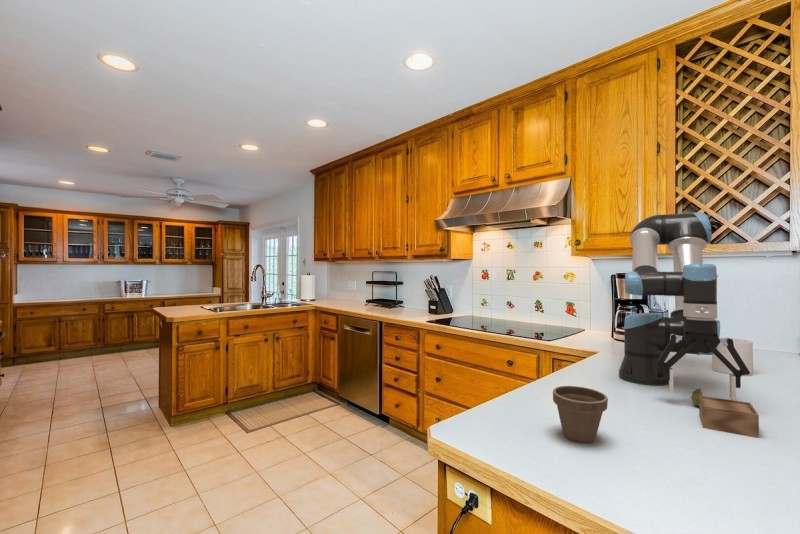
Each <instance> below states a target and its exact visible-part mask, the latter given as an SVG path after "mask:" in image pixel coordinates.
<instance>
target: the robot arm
mask: <svg viewBox="0 0 800 534" xmlns="http://www.w3.org/2000/svg"><path fill="white" fill-rule="evenodd" d="M712 235H713V234H712V226H711V222H710V219H709V216H708V215H707V214H706V213H704V212H693V211H692V212H691V211H690V212H685V213H669V214H654V215H651V216H648V217H646V218H644V219H642V220H641V221H640V222H637V224H636V225H635V226H634V227H633V229H632V230H631V232H630V235H629V242H630V245H631V246H632V261H631V262H632V265H631V267H632V268H631V269H632V271H627V272H625V274H624V288H625V293H626V294H627V295H633V296H634V295H635V296H636V295H637V296H664V297H665V296H666V297H674V305H675V307H674V308H675V309H673V310H672V311H671V312H670V313H669V316H670V317H667V316H666V317H665V315H664V313H663V312H639V313H631V314H628V315H626V316H625V318H624V326H623V330H624V332H623V333H624V334H623V335H624V341H623V342H624V347H623V349H624V355H623V358H622V361H621V364H620V365H619V366H620V367H619V369H618V377H619V378H620V379H622V380H624V381H627V382H630V383H633V384H639V385H640V384H641V385H646V386H648V385H649V386H666V385H668V391H669V393H670V394H674V369H673V366H674V365H675V364H676V363H678V362H679V360H681V359H682V358H684V356H685V355H686V354H688V355H689V354H690V355H696V356H699V355H701V356H702V355H703V356H712V355H713V354H715V355H716V356H717V357H718V358H719V359H720V360H721V361H722V362H723V363H724V364H725V366H726V367H727V368H728V369H729V370H730V371H731V372H732V373H733V374H728V377H729V378H728V379H729V380H728V381H729V384H728V385H729V386H728V387H729V400H735V401H737V389H741V384H742V381H741V378H742V377H743V376H742V375H749V374H750V372H749V370H748V368H747V367H746V365H745V364H744V362H743V360H742V359H741V357H740V356H739V354H738V353H737V351H736V349H735V348H734V343H733V340H732V339H730V338H731V337H724V338H725V339H719V338H720V335H721V322H720V320H718V300H717V298H718V297H717V295H718V293H717V291H718V274H717V271H718V270H717V266H716V265H715V264H713V263H704V261H703V250H705V249H706V248H707V245H708V244H710V243H711V241H712ZM658 245H664V246H665V245H666V246H667V249H668V250H669V251H670V252H671V253H672V259H673V260H672V261H673V271H660V270H659V258H658V256H659V255H658ZM720 343H722V344H723V345H724V346H726V347H727V349H728V350H729V352H730V354H731V355H732V357H733V358H734V360H735V362H736V363H737V365H738V366H739V368H740V370H737V369H736V368H735V367H734V366H733V365H732V364H731V363H730V362H729V361H728V360H727V359H726V358H725V357H724V356H723V355H722V354H721V353H720V352H719V351H718V350H717V347H718V345H719V344H720ZM670 353H675V354H674V355H673V356H671V358H669V359H668V357H669V356H670ZM667 359H668V360H667ZM666 360H667V361H666ZM665 361H666V362H665Z"/></svg>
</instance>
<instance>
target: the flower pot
mask: <svg viewBox="0 0 800 534" xmlns="http://www.w3.org/2000/svg"><path fill="white" fill-rule="evenodd" d="M552 400H553V403H554V404H555V405H556V408H557V413H558V416H559V421H560V426H561V428H562V430H561V431H562V432H563V435H564V436H565V437H566V438H567V439H569V440H570V441H574V442H578V443H592V442H594V440H595V439H596V437H597V435H598V434H597V433H598V432H599V431H598V430H599V427H600V423H601V421H602V420H601V419H602V417H603V413H604V412H605V411H607V409H608V404H609V403H608V400H609V398H608V396H607V395H606V394H605V393H603V392H600V391H598V390H596V389H593V388H590V387H589V388H588V387H585V386H576V385H575V386H574V385H561V386H557V387H554V389H553V390H552Z"/></svg>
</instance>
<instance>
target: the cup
mask: <svg viewBox="0 0 800 534" xmlns="http://www.w3.org/2000/svg"><path fill="white" fill-rule="evenodd" d="M725 338H726V337H719V339H725ZM729 338H730V339H732V340H733V343H734V348H735V349H736V351H737V353H738V354H739V356H740V357H741V359H742V360H743V362H744V364H745V365H746V367H747V368H748V370H749V372H750V374H749V375H742V376H741V377H751V376H753V374H754V350H753V349H754V348H753V347H754V346H753V345H754V344H753V343H754V342H753V341H751V340H747V339H742V338H733V337H732V338H731V337H729ZM717 350H718V351H719V352H720V353H721V354H722V355H723V356H724V357H725V358H726V359H727V360H728V361H729V362H730V363H731V364H732V365H733V366H734V367H735V368H736V369H737V370H740V368H739V366H738V365H737V363H736V362H735V360H734V358H733V357H732V355H731V354H730V352H729V350H728V349H727V347H726V346H724V345H723V344H722V343H720V344H719V345H718V347H717ZM711 368H712V371H713V372H717V373H720V374H725V375H729V374H733V373H732V372H731V371H730V370H729V369H728V368H727V367H726V366H725V364H724V363H723V362H722V361H721V360H720V359H719V358H718V357H717V356H716V355H715V354H713V355H711Z"/></svg>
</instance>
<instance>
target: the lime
mask: <svg viewBox="0 0 800 534" xmlns="http://www.w3.org/2000/svg"><path fill="white" fill-rule="evenodd" d="M699 395H700V396H704V395H703V392H702V390H701V388H698V389H695V390H693V392H692V393H691V396H690V399H691V403H693V404H694V405H695V406H697V407H699Z"/></svg>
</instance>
